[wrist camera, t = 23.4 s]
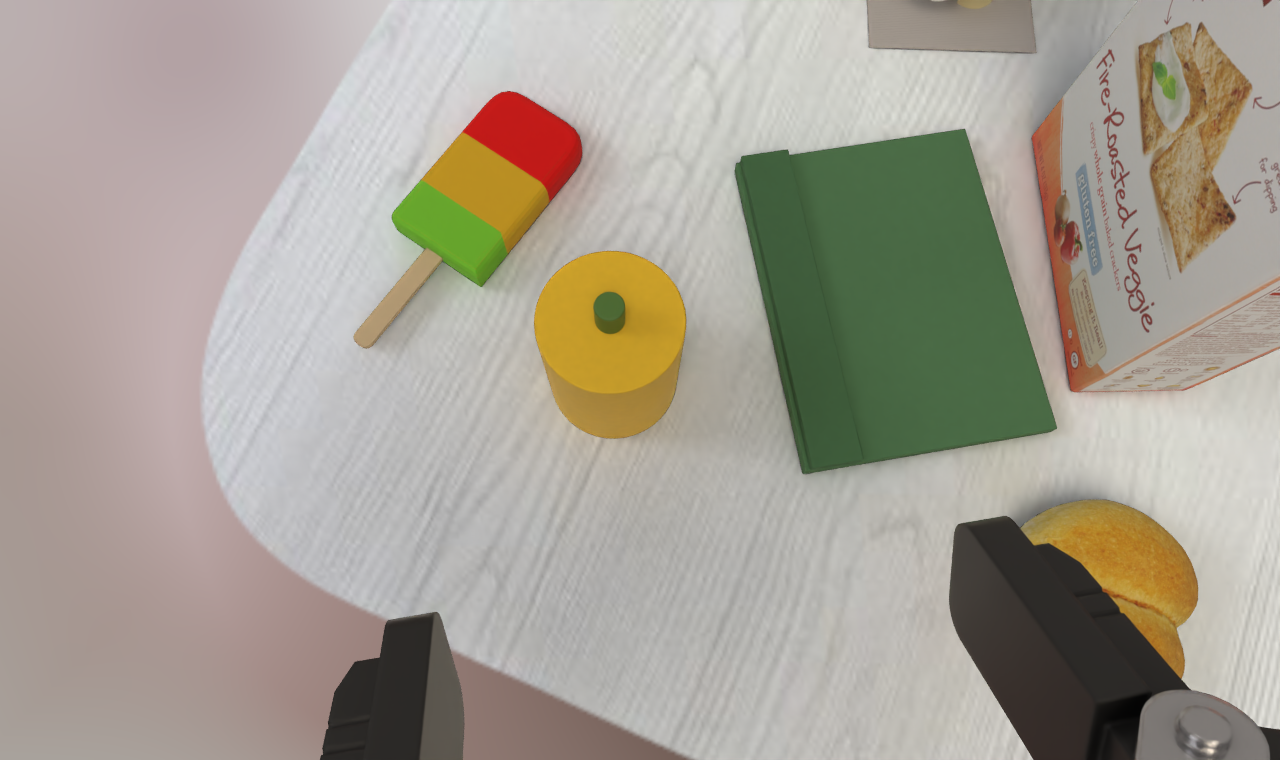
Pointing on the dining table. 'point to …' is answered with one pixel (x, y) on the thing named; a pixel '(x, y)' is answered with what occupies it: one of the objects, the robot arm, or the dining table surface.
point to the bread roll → (1127, 565)
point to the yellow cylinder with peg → (611, 342)
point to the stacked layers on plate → (952, 25)
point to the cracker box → (1168, 197)
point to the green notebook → (889, 301)
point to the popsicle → (480, 197)
